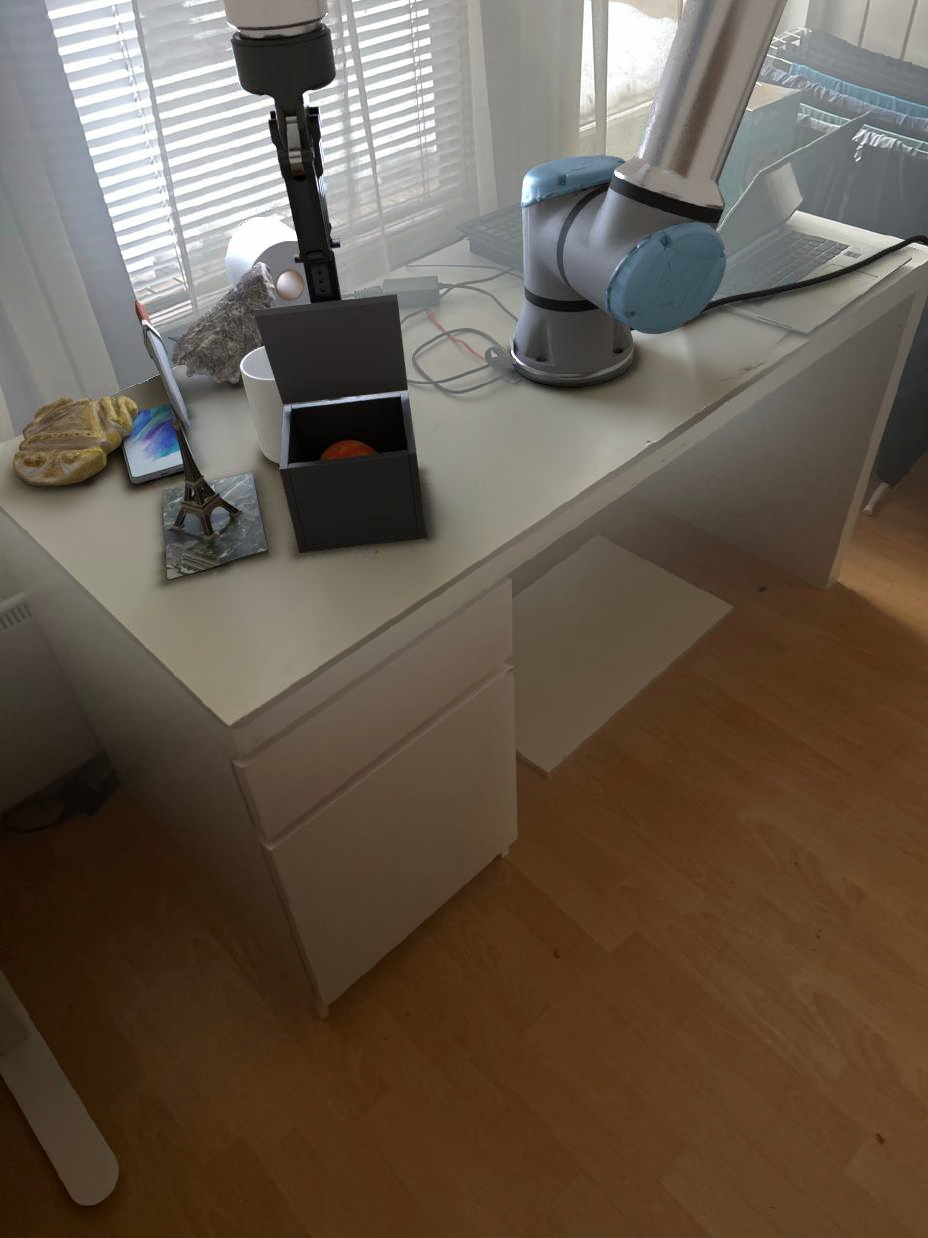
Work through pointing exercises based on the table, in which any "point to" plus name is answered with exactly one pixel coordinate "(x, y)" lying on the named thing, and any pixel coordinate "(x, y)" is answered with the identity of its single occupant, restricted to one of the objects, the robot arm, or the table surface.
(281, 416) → the mug
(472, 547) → the table surface
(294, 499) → the open storage box
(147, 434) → the smartphone
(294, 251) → the toilet paper
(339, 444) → the fruit
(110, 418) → the sculpture
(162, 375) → the dagger
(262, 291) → the rock
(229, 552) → the eiffel tower figurine
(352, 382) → the lid
